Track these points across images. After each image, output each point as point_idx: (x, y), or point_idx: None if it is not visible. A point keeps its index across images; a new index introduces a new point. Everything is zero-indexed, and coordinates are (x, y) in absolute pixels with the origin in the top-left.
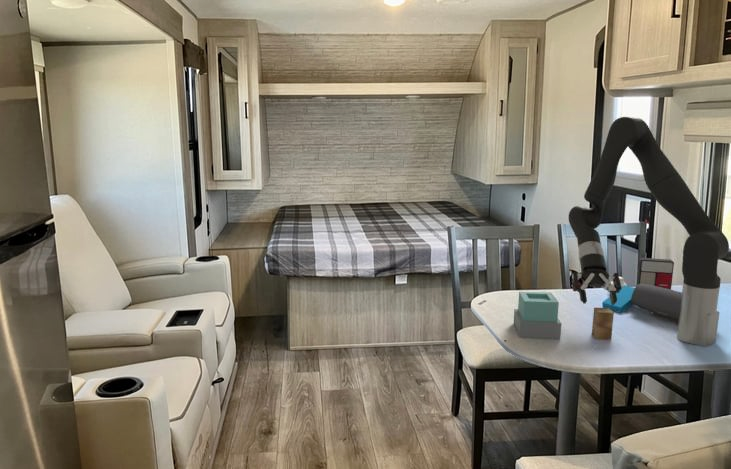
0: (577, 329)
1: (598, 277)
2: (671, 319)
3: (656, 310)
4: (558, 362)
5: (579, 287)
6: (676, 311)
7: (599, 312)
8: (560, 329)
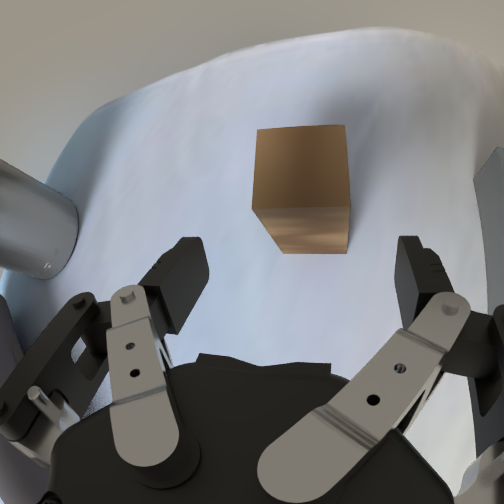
0: (395, 301)
1: (198, 440)
2: None
3: None
4: (460, 45)
5: (473, 329)
6: (6, 346)
7: (337, 126)
8: (488, 161)
